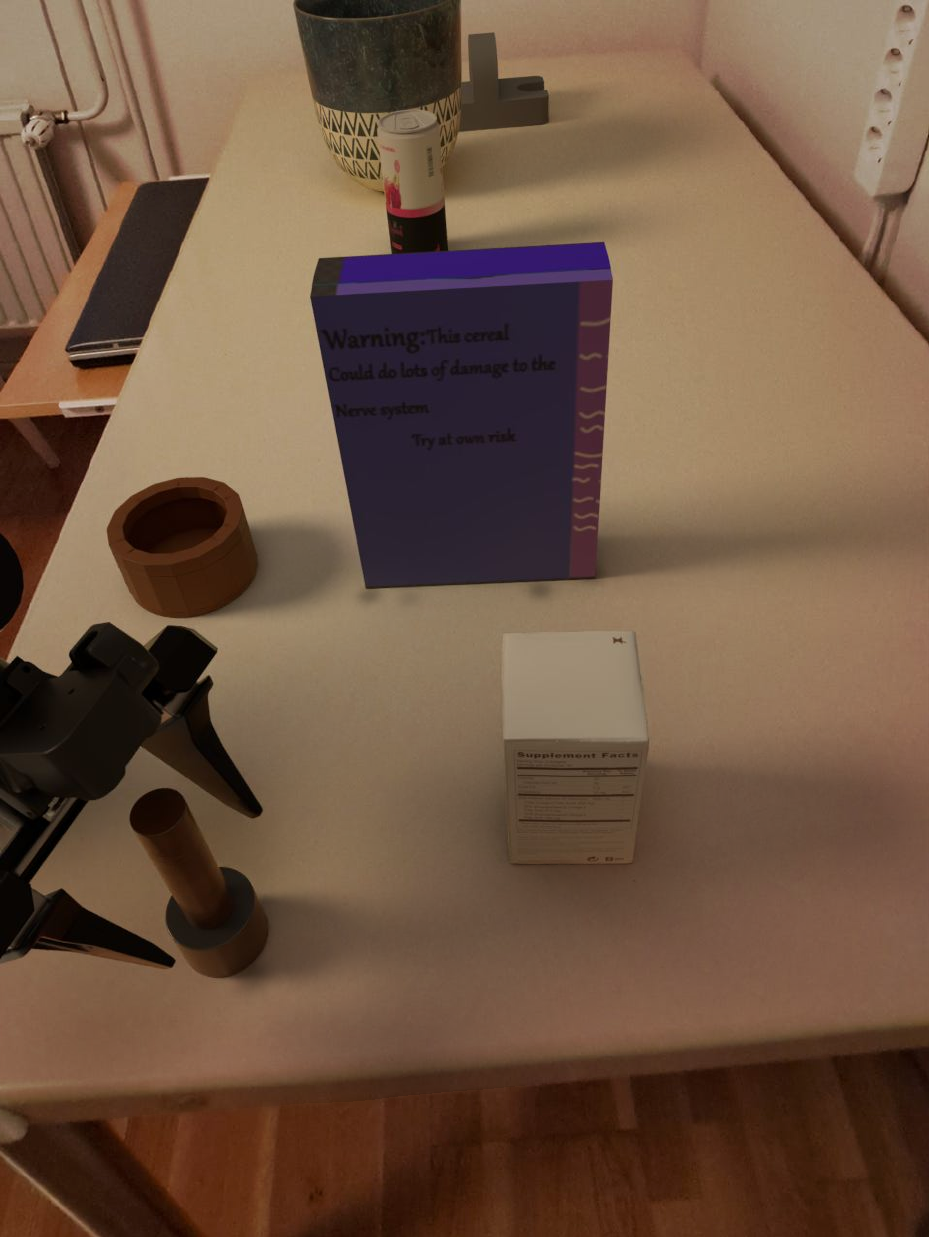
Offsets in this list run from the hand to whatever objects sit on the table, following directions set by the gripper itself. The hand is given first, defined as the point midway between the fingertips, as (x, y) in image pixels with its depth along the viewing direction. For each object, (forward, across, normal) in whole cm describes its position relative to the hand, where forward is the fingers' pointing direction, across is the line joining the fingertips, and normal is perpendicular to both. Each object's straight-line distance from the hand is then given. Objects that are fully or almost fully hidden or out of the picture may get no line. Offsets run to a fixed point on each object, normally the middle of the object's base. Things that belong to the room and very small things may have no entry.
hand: (217, 885), depth 48 cm
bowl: (-9, +26, +18) cm, 33 cm away
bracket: (-16, +124, +25) cm, 128 cm away
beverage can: (-10, +80, +20) cm, 83 cm away
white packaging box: (+15, +14, -6) cm, 21 cm away
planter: (-18, +99, +28) cm, 105 cm away
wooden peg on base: (+4, 0, +6) cm, 7 cm away
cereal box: (+6, +33, +3) cm, 34 cm away
